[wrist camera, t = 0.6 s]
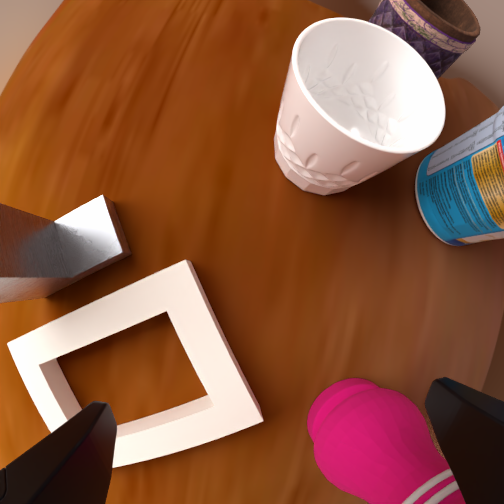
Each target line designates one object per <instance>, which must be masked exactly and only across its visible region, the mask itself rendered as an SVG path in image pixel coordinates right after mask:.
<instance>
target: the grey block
mask: <svg viewBox="0 0 504 504" xmlns="http://www.w3.org/2000/svg"><path fill="white" fill-rule="evenodd" d="M129 255H132V253H131V250H130V248H129V245H128V242H127V240H126V237H125V234H124V232H123V229H122V226H121V223H120V220H119V218H118V215H117V212H116V209H115V206H114V203H113V201H111V200H110V199H108V198H107V197H105V196H104V195H101V196H99V197H97V198H95V199H94V200H92V201H90V202H88V203H86V204H84V205H83V206H81V207H79V208H77V209H75V210H74V211H72V212H70V213H68V214H67V215H65V216H63V217H61V218H60V219H58V220H56V221H55V222H54V221H51V220H48V219H45V218H42V217H39V216H36V215H33V214H30V213H27V212H24V211H21V210H18V209H15V208H12V207H9V206H6V205H3V204H1V203H0V303H3V302H13V301H22V300H31V299H40V298H46V297H47V296H49V295H51V294H53V293H55V292H57V291H59V290H61V289H63V288H65V287H67V286H69V285H71V284H73V283H75V282H77V281H79V280H80V279H82V278H84V277H86V276H88V275H90V274H92V273H94V272H96V271H99V270H101V269H103V268H105V267H107V266H109V265H111V264H113V263H115V262H117V261H119V260H121V259H123V258H125V257H127V256H129Z"/></svg>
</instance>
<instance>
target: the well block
mask: <svg viewBox="0 0 504 504" xmlns="http://www.w3.org/2000/svg"><path fill="white" fill-rule="evenodd" d="M165 311H167V313H168V315H169V317H170V319H171V321H172V324H173V326H174V328H175V330H176V332H177V334H178V336H179V338H180V340H181V343H182V345H183V347H184V349H185V351H186V353H187V355H188V357H189V359H190V361H191V363H192V365H193V367H194V368H195V370H196V372H197V374H198V376H199V378H200V380H201V382H202V384H203V386H204V388H205V389H206V391H207V393H208V395H207V396H204V397H202V398H199V399H196V400H194V401H191V402H188V403H186V404H183V405H180V406H177V407H174V408H171V409H169V410H166V411H163V412H160V413H157V414H154V415H151V416H147V417H144V418H141V419H138V420H135V421H131V422H128V423H125V424H121V425H118V426H117V435H116V442H115V450H114V458H113V467H112V468H114V467H119V466H124V465H128V464H133V463H137V462H141V461H145V460H149V459H153V458H157V457H161V456H164V455H168V454H171V453H175V452H178V451H182V450H185V449H188V448H191V447H195V446H198V445H201V444H204V443H207V442H210V441H213V440H215V439H218V438H221V437H224V436H227V435H229V434H232V433H235V432H237V431H240V430H243V429H245V428H248V427H250V426H253V425H255V424H258V423H260V422H262V421H263V417H262V413H261V409H260V406H259V404H258V402H257V400H256V398H255V396H254V394H253V392H252V390H251V388H250V386H249V384H248V382H247V380H246V378H245V376H244V374H243V372H242V370H241V368H240V366H239V364H238V362H237V360H236V358H235V356H234V354H233V352H232V350H231V348H230V346H229V344H228V342H227V340H226V338H225V336H224V334H223V331H222V329H221V327H220V325H219V323H218V321H217V319H216V317H215V314H214V312H213V310H212V308H211V306H210V304H209V301H208V299H207V297H206V295H205V293H204V290H203V288H202V286H201V284H200V281H199V279H198V277H197V275H196V272H195V270H194V268H193V265H192V263H191V261H188V260H184V261H181V262H179V263H177V264H175V265H172V266H170V267H168V268H166V269H164V270H161V271H159V272H157V273H155V274H153V275H150V276H148V277H146V278H144V279H142V280H140V281H137V282H135V283H133V284H131V285H129V286H126V287H124V288H122V289H120V290H118V291H116V292H114V293H111V294H109V295H107V296H105V297H103V298H101V299H99V300H96V301H94V302H92V303H90V304H88V305H86V306H84V307H82V308H79V309H77V310H75V311H73V312H71V313H69V314H67V315H65V316H63V317H60V318H58V319H56V320H54V321H52V322H50V323H48V324H46V325H44V326H42V327H40V328H38V329H36V330H33V331H31V332H29V333H27V334H25V335H23V336H21V337H19V338H17V339H15V340H13V341H11V342H9V343H7V344H8V347H9V349H10V352H11V354H12V357H13V359H14V361H15V364H16V366H17V368H18V370H19V373H20V375H21V377H22V379H23V381H24V383H25V385H26V387H27V389H28V391H29V393H30V395H31V397H32V399H33V401H34V403H35V405H36V407H37V409H38V411H39V412H40V414H41V416H42V418H43V419H44V421H45V423H46V425H47V426H48V428H49V430H50V431H51V433H52V432H53V431H54V430H56V429H57V428H58V427H60V426H61V425H62V424H64V423H65V422H66V421H68V420H69V419H70V418H72V417H73V416H74V415H76V414H77V413H78V412H80V411H81V410H82V408H81V407H80V405H79V403H78V401H77V400H76V398H75V396H74V394H73V392H72V390H71V388H70V386H69V384H68V382H67V380H66V378H65V376H64V374H63V372H62V370H61V368H60V366H59V364H58V362H57V360H56V358H57V357H59V356H61V355H64V354H66V353H69V352H71V351H74V350H76V349H78V348H81V347H83V346H86V345H88V344H90V343H93V342H95V341H98V340H100V339H102V338H105V337H107V336H109V335H112V334H114V333H117V332H119V331H121V330H124V329H126V328H128V327H131V326H133V325H135V324H138V323H140V322H142V321H145V320H147V319H149V318H152V317H154V316H156V315H159V314H161V313H163V312H165Z"/></svg>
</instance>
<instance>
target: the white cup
mask: <svg viewBox="0 0 504 504" xmlns="http://www.w3.org/2000/svg"><path fill="white" fill-rule="evenodd" d="M444 122H445V102H444V97H443V93H442V90H441V87H440V85H439V83H438V81H437V79H436V77H435V75H434V73H433V72H432V70H431V68H430V67H429V66H428V64H427V63H426V62H425V60H424V59H423V58H422V57H421V56H420V55H419V54H418V53H417V51H415V50H414V49H413V48H412V47H411V46H410V45H409V44H408V43H406V42H405V41H404V40H402V39H401V38H400V37H398V36H397V35H395V34H393V33H392V32H390V31H388V30H386V29H384V28H382V27H380V26H378V25H375V24H372V23H370V22H366V21H362V20H358V19H352V18H330V19H325V20H322V21H319V22H316V23H314V24H312V25H310V26H309V27H307V28H306V29H305V30H304V31H303V32H302V33H301V34H300V35H299V37H298V38H297V40H296V42H295V45H294V48H293V52H292V56H291V61H290V65H289V69H288V74H287V78H286V82H285V86H284V90H283V94H282V99H281V103H280V109H279V114H278V119H277V129H276V133H275V137H274V147H275V159H276V161H277V163H278V164H279V166H280V168H281V170H282V171H283V173H284V175H285V177H286V178H288V179H289V180H290V181H292V182H293V183H294V184H295V185H297V186H298V187H299V188H301V189H302V190H304V191H308V192H312V193H316V194H320V195H328V194H333V193H338V192H343V191H345V190H347V189H348V188H350V187H352V186H354V185H357V184H359V183H362V182H364V181H366V180H367V179H369V178H371V177H374V176H376V175H378V174H380V173H382V172H383V171H385V170H387V169H389V168H391V167H392V166H394V165H396V164H398V163H399V162H401V161H403V160H405V159H407V158H409V157H410V156H412V155H414V154H416V153H418V152H420V151H422V150H423V149H425V148H427V147H429V146H430V145H431V144H432V143H434V142H435V141H436V139H437V138H438V137H439V135H440V133H441V131H442V129H443V126H444Z"/></svg>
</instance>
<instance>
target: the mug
mask: <svg viewBox="0 0 504 504" xmlns="http://www.w3.org/2000/svg"><path fill="white" fill-rule="evenodd" d="M368 22H370V23H372V24H375V25H378V26H380V27H382V28H384V29H386V30H388V31H390V32H392V33H393V34H395V35H397V36H398V37H400V38H401V39H402V40H404V41H405V42H406V43H408V44H409V45H410V46H411V47H412V48H413V49H414V50H415V51H417V53H418V54H419V55H420V56H421V57H422V58H423V59H424V60H425V62H426V63H427V64H428V66H429V67H430V68H431V70H432V72H433V73H434V75H435V77H436V79H438V78H439V77H440V76H441V75H442V74H443V73H444V72H445V71H446V70H447V69H448V68H449V67H450V66H451V65H452V64H453V63H454V62H455V61H456V60H457V59H458V57H459V56H460V55H461V54H462V53H464V52H465V51H467V50H468V49H469V48H470V47H471V46H472V45H473V44H474V42H475V41H476V38H477V37H478V35H479V34H480V26H479V23H478V20H477V18H476V16H475V15H474V13H473V12H472V10H471V9H470V8H469V6H468V5H467V4H466V3H465V2H464V1H463V0H381V2H380V3H379V6H378V8H377V10H376V11H375V13H374V14H373V16H372V17H371V19H370V20H369V21H368Z"/></svg>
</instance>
